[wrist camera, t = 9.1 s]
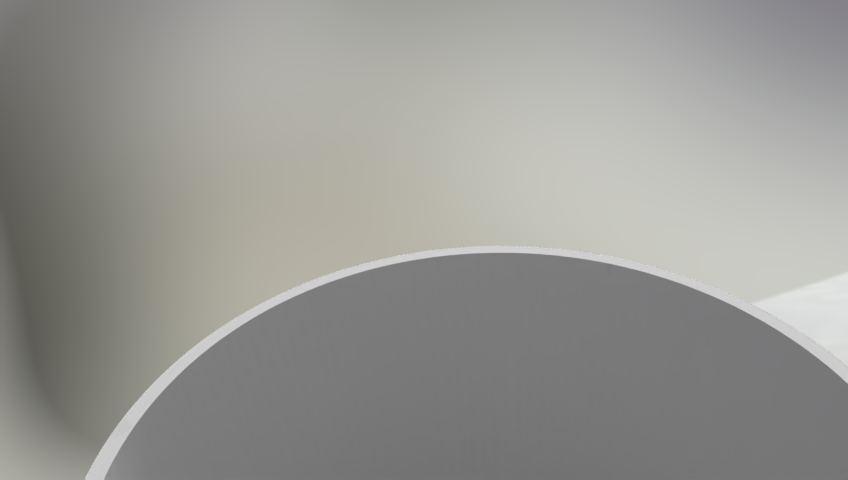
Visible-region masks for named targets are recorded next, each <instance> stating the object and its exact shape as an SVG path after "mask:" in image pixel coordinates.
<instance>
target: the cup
mask: <svg viewBox="0 0 848 480" xmlns="http://www.w3.org/2000/svg"><path fill="white" fill-rule="evenodd" d="M85 480H848V366H847V365H846V364H844V363H843V362H842V361H841V360H839V359H838V358H837V357H835V356H834V355H833V354H832V353H830V352H829V351H827V350H826V349H825V348H823V347H822V346H821V345H819V344H818V343H816V342H815V341H813V340H812V339H810V338H809V337H807V336H806V335H804V334H803V333H801V332H800V331H798V330H797V329H795V328H793V327H792V326H790V325H789V324H787V323H785V322H783V321H782V320H780V319H778V318H777V317H775V316H773V315H771V314H769V313H767V312H766V311H764V310H762V309H760V308H758V307H756V306H754V305H752V304H750V303H748V302H746V301H744V300H742V299H740V298H738V297H735V296H733V295H731V294H729V293H726V292H724V291H722V290H719V289H717V288H715V287H712V286H709V285H707V284H705V283H702V282H699V281H697V280H694V279H691V278H688V277H685V276H682V275H679V274H676V273H673V272H670V271H666V270H664V269H660V268H657V267H653V266H649V265H646V264H642V263H638V262H634V261H630V260H625V259H620V258H616V257H611V256H606V255H600V254H594V253H587V252H581V251H574V250H565V249H556V248H544V247H528V246H525V247H524V246H477V247H460V248H450V249H440V250H431V251H424V252H417V253H412V254H405V255H400V256H395V257H390V258H386V259H381V260H377V261H373V262H369V263H365V264H361V265H357V266H354V267H350V268H347V269H344V270H341V271H338V272H335V273H332V274H328V275H326V276H323V277H320V278H317V279H315V280H312V281H309V282H307V283H304V284H302V285H299V286H297V287H295V288H293V289H290V290H288V291H286V292H284V293H281V294H279V295H277V296H275V297H273V298H271V299H269V300H267V301H265V302H263V303H261V304H259V305H257V306H256V307H254V308H252V309H250V310H248V311H247V312H245V313H243V314H242V315H240V316H238V317H236V318H235V319H233V320H232V321H230V322H228V323H227V324H225V325H224V326H222V327H221V328H219V329H218V330H216V331H215V332H214V333H212V334H210V335H209V336H208V337H206V338H205V339H204V340H202V341H201V342H200V343H198V344H197V345H196V346H194V347H193V348H192V349H191V350H189V351H188V352H187V353H186V354H184V355H183V356H182V357H181V358H180V359H179V360H177V361H176V362H175V363H174V364H173V365H172V366H171V367H170V368H168V369H167V370H166V371H165V372H164V373H163V374H162V375H161V376H160V377H159V378H158V379H157V380H156V381H155V382H154V383H153V384H152V385H151V386H150V387H149V388H148V389H147V390H146V392H144V394H143V395H142V396H141V397H140V398H139V399H138V400H137V402H136V403H135V404H134V405H133V406H132V407H131V409H130V410H129V411H128V412H127V414H126V415H125V416H124V417H123V419H122V420H121V421H120V423H119V424H118V425H117V427H116V428H115V430H114V431H113V432H112V434H111V435H110V437H109V438H108V440H107V441H106V443H105V444H104V446H103V448H102V449H101V451H100V453H99V454H98V456H97V457H96V459H95V461H94V463H93V465H92V467H91V468H90V470H89V472H88V474H87V476H86V478H85Z"/></svg>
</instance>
